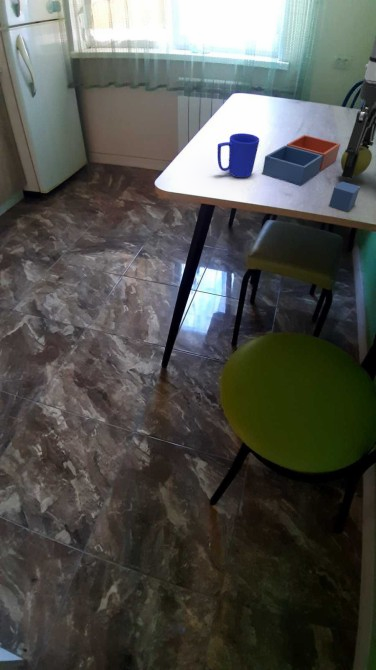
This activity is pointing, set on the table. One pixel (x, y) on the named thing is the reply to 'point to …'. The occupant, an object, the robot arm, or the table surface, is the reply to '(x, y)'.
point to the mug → (240, 154)
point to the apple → (359, 160)
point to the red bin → (318, 148)
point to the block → (344, 196)
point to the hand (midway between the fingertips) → (352, 172)
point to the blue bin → (292, 164)
